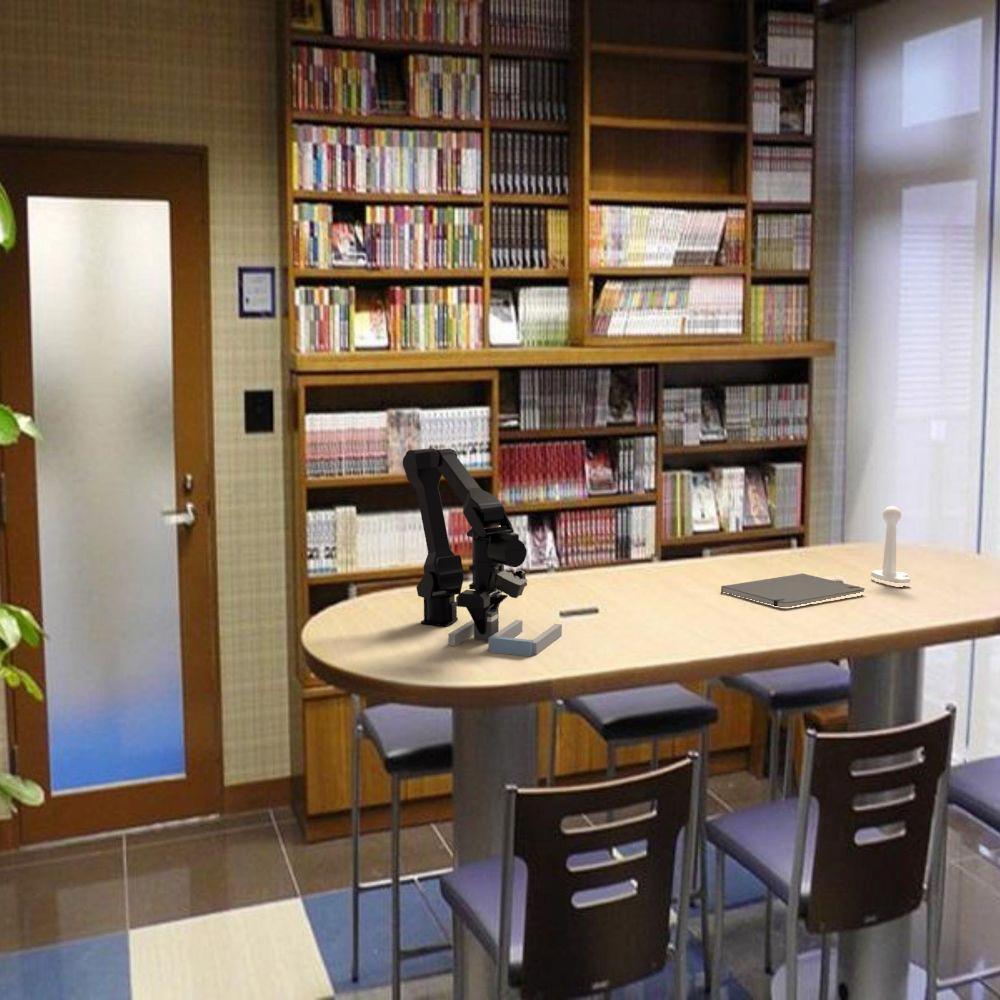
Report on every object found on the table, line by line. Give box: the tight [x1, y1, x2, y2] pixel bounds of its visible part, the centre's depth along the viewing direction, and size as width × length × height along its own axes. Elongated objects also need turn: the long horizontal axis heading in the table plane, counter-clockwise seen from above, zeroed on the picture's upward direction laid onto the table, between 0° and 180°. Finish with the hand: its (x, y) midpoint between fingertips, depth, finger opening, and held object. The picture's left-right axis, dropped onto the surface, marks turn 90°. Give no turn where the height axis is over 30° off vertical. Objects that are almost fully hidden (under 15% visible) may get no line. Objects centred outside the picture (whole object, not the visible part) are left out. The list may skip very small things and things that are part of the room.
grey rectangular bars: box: [447, 618, 563, 657], centre depth 257 cm, size 20×18×3 cm
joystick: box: [870, 505, 912, 583], centre depth 311 cm, size 11×8×20 cm
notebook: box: [720, 573, 866, 607], centre depth 300 cm, size 22×2×28 cm
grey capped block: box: [473, 609, 500, 642], centre depth 259 cm, size 4×4×6 cm
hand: (486, 631), depth 259 cm, fingers closed on grey capped block, 4 cm apart
